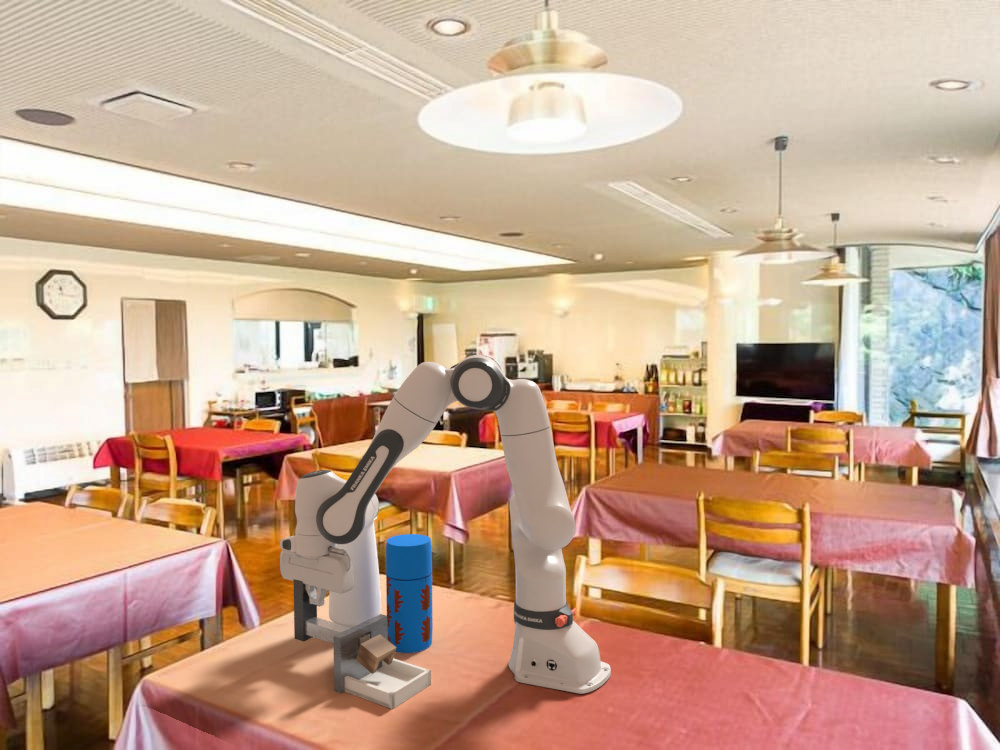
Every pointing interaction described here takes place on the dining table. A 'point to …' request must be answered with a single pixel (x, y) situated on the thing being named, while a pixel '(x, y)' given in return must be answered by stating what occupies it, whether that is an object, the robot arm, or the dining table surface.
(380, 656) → the block
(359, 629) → the bearing wall
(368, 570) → the vase
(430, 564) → the thermos
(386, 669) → the tray
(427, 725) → the dining table surface
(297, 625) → the shaft
